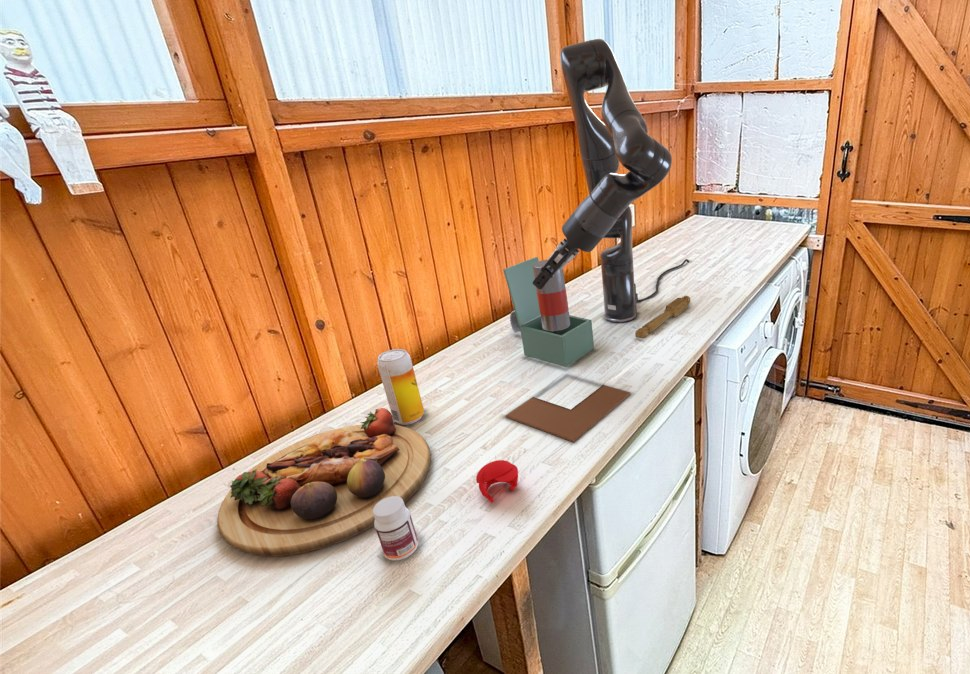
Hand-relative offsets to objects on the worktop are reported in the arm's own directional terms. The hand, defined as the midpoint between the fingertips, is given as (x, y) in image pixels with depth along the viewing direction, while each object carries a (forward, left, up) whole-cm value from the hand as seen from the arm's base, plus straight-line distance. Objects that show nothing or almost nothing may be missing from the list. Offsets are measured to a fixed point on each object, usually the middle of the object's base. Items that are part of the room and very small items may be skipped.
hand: (542, 280), depth 108 cm
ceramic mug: (-20, -28, -26) cm, 43 cm away
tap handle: (-45, +4, -26) cm, 52 cm away
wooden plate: (+45, -12, -26) cm, 53 cm away
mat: (+5, +8, -26) cm, 27 cm away
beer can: (+25, -19, -26) cm, 40 cm away
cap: (+32, +15, -26) cm, 44 cm away
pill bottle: (+48, +11, -26) cm, 55 cm away
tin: (-1, +2, -10) cm, 10 cm away
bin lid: (-13, -18, -9) cm, 24 cm away
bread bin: (-13, -10, -26) cm, 30 cm away
